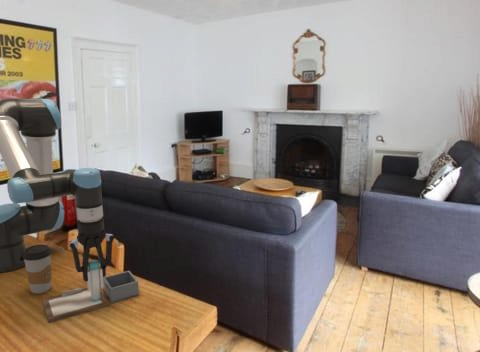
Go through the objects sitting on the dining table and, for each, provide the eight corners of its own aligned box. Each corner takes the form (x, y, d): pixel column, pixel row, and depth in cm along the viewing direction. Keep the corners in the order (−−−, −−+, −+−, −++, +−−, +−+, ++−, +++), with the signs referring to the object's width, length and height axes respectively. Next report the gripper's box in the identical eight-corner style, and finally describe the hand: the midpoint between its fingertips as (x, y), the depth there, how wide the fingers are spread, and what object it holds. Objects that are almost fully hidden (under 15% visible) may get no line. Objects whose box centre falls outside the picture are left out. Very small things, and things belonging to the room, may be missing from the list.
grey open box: (103, 290, 126) (102, 277, 125) (130, 283, 131) (129, 270, 130) (111, 303, 119) (110, 289, 117) (138, 294, 124) (138, 281, 123)
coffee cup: (42, 297, 121) (38, 255, 118) (21, 294, 123) (16, 252, 120) (59, 284, 129) (56, 245, 126) (39, 281, 131) (35, 242, 128)
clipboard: (42, 302, 118) (42, 296, 118) (97, 288, 128) (97, 282, 127) (48, 323, 108) (47, 317, 107) (107, 305, 117) (107, 300, 117)
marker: (89, 298, 119) (87, 261, 116) (100, 295, 120) (97, 259, 117) (92, 302, 116) (89, 265, 113) (102, 299, 118) (100, 262, 115)
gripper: (64, 227, 105) (70, 300, 110) (120, 217, 114) (123, 286, 119) (59, 219, 111) (66, 289, 116) (113, 211, 120) (117, 276, 125)
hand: (95, 287), depth 117 cm, fingers closed on marker, 3 cm apart
